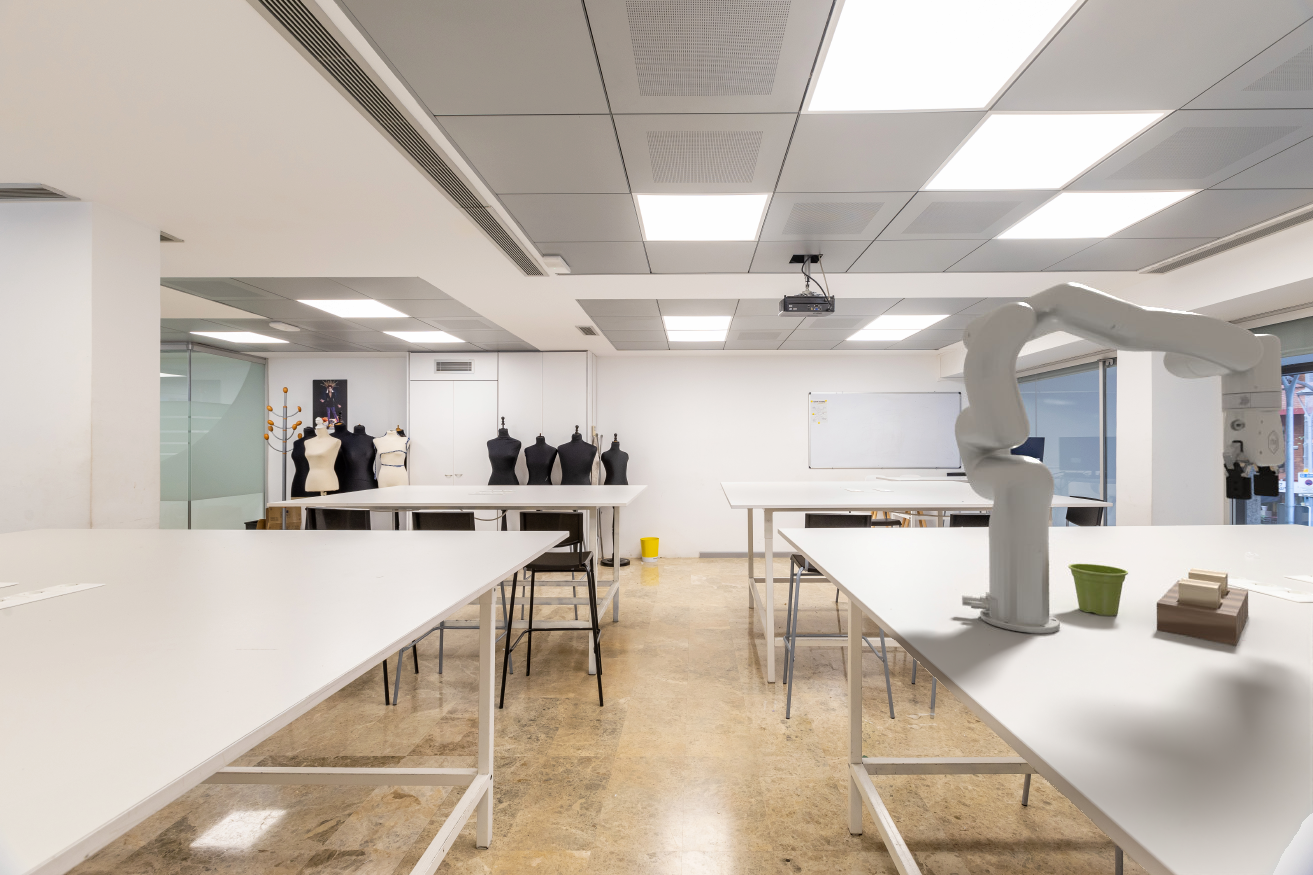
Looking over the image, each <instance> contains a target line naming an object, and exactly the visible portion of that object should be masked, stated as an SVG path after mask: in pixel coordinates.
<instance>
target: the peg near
mask: <svg viewBox="0 0 1313 875" xmlns="http://www.w3.org/2000/svg"><path fill="white" fill-rule="evenodd" d="M1178 590H1179V602H1180V603H1186V604H1192V605H1199V606H1205V607H1211V608H1217V609H1220V608H1221V583H1215V582H1208V581H1201V580H1193V579H1188V578H1184V577H1183V578H1181V579H1180V582H1179V583H1178Z"/></svg>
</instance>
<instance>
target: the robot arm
mask: <svg viewBox="0 0 1313 875" xmlns="http://www.w3.org/2000/svg"><path fill="white" fill-rule="evenodd" d="M1056 332H1063V333H1067V334H1069V335H1072V336H1075V337H1078V338H1080V339H1084V340H1087V341H1089V342H1092V343H1093V344H1097V345H1100V346H1102V347H1105V348H1108V349H1111V350H1113V351H1121V352H1132V353H1133V352H1134V353H1137V352H1138V353H1140V352H1142V353H1144V352H1161V353H1165V354H1164V356H1163V366H1164V368H1165V370H1166V371H1167V372H1168V373H1169V374H1171V375H1173V376H1175V377H1178V378H1181V379H1189V380H1190V379H1192V380H1194V379H1202V378H1209V377H1216V376H1217V377H1218V376H1219V377H1220V383H1221V384H1220V385H1221V386H1220V387H1221V388H1220V389H1221V390H1220V391H1221V392H1220V393H1221V413H1225V417H1224V428H1223V452H1222V458H1223V461H1224V462H1223V467H1224V469H1225V470H1224V476H1225V497H1226V498H1227V499H1229V500H1244V501H1250V500H1252V498H1253V494H1254V496H1256V497H1269V498H1270V497H1271V498H1278V497H1280V476H1279V475H1280V468H1279V466H1280V465H1281V466H1282V464H1284V463H1285V462H1286V450H1285V441H1284V438H1285V437H1284V431H1283V422H1282V418H1281V415H1280V411H1283V398H1282V397H1283V395H1282V392H1283V390H1282V389H1283V388H1282V345H1281V339H1280V338H1279V337H1278V336H1277V335H1274V334H1270V333H1269V334H1268V333H1265V334H1264V333H1263V334H1261V333H1260V334H1255V333H1254V332H1252V331H1251V330H1249V329H1247V328H1244V327H1243V326H1239V325H1237V324H1235V323H1231V322H1229V321H1226V320H1223V319H1221V318H1216V317H1214V316H1211V315H1205V314H1201V313H1194V312H1186V311H1178V310H1170V309H1164V308H1158V307H1156V308H1155V307H1148V306H1142V305H1138V304H1136V303H1133V302H1130V301H1128V300H1124V299H1121V298H1118V297H1116V296H1113V295H1111V294H1107V293H1106V292H1102V291H1100V290H1097V289H1095V288H1091V287H1088V286H1086V285H1083V284H1080V283H1076V282H1063V283H1058V284H1056V285H1054V286H1052V287H1049V288H1046V289H1044V290H1042V291H1040V292H1038V293H1036V294H1033V295H1031V296H1029V297H1026V298H1024V299H1022V300H1020V301H1016V302H1015V301H1014V302H1012V301H1011V302H1007V303H1004V304H1002V305H999V306H997V307H994V308H992V309H990V310H989V311H987V312H984V313H982V314H980V315H978V316H975V317H974V318H973V319H971V320H970V321H969V322H968V323H966V326H965V327H964V329H963V332H962V342H963V345H964V347H965V349H966V350H967V352H966V354H965V358H964V364H963V368H962V369H963V370H962V371H963V382H964V385H965V386H964V387H965V391H966V396H967V400H968V404H969V405H968V406H966V407H965V408H963V409H962V410H961V411H960V412H959V414H958V415H957V417H956V420H955V424H954V436H955V441H956V445H957V448H958V451H959V452H958V453H959V455H960V459H961V463H962V466H963V469H964V473H965V476H966V479H967V482H968V484H969V486H970V487H971V489H972V490H973V491H974V492H975V493H976V494H977V495H978V496H979V497H980V498H983V499H985V500H989V501H993V502H992V503H993V504H992V507H991V512H990V516H989V520H988V564H989V565H988V571H989V572H988V573H989V574H988V576H989V577H988V578H989V584H988V585H989V587H988V588H989V591H986V592H985V595H980V596H978V597H977V596H972V595H962V596H961V604H962V605H961V606H965V607H970V609H974V610H975V609H976V610H980V611H979V613H980V614H979V616H980V619H981V620H983V622H985V623H987V624H990V625H992V626H993V627H994V626H995V627H999V628H1001V629H1005V630H1008V631H1009V630H1010V631H1013V632H1014V631H1016V632H1020V633H1029V634H1050V633H1055V632H1058V631H1059V630H1060V627H1061V623H1060V621H1059V619H1057V618H1056V617H1054V616H1052V615H1050V543H1049V542H1050V541H1049V538H1050V537H1049V536H1050V535H1049V532H1050V531H1049V530H1050V528H1049V527H1050V526H1049V524H1050V512H1051V508H1052V503H1053V502H1052V501H1053V498H1054V493H1055V480H1054V477H1053V476H1054V475H1053V473H1052V472H1051V470H1050V468H1048V466H1047V465H1046V464H1044V462H1042V461H1040V460H1038V459H1036V458H1034V457H1032V456H1028V455H1021V454H1020V455H1017V454H1012V453H1011V450H1012V449H1015V448H1018V447H1020V446H1021V445H1024V444H1025V442H1026V441H1027V440H1028V438H1029V436H1030V431H1031V426H1030V421H1029V416H1028V413H1027V410H1026V408H1025V403H1024V400H1023V397H1022V396H1023V395H1022V393H1021V390H1020V387H1019V383H1018V382H1019V381H1018V378H1017V372H1016V371H1017V368H1016V367H1017V366H1016V365H1017V361H1018V357H1019V355H1020V353H1021V350H1022V349H1023V348H1024V347H1025V345H1026V343H1029V342H1032V341H1034V340H1038V339H1040V338H1042V337H1044V336H1047V335H1050V334H1053V333H1056ZM1252 467H1253V469H1254V470H1255V473H1254V474H1253V476H1249V475H1250V472H1251V470H1252ZM1252 477H1253V481H1252ZM1252 483H1253V484H1252ZM1252 486H1253V488H1252ZM1252 489H1253V490H1252ZM1252 491H1253V492H1252Z"/></svg>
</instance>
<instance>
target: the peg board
mask: <svg viewBox="0 0 1313 875" xmlns="http://www.w3.org/2000/svg"><path fill="white" fill-rule="evenodd" d="M1180 580H1181V579H1180ZM1180 580H1179V579H1177V581H1176V582H1175V583H1174V584H1173V585H1172V586H1171V587H1170V588H1169V589H1168V590H1167V591H1166V592H1165V593H1164V595H1162V597H1161V598H1159V599H1158V601H1157V602H1156V631H1159V632H1165V633H1169V634H1170V633H1171V634H1174V635H1179V636H1180V635H1181V636H1185V637H1190V638H1193V639H1194V638H1196V639H1200V640H1204V641H1205V640H1206V641H1211V642H1216V643H1220V644H1226V645H1232V646H1237V645H1238V643H1239V640H1240V638H1241V635H1242V632H1243V630H1244V628H1245V625H1246V623H1247V620H1248V617H1249V589H1242V588H1237V587H1229V586H1228V595H1227V596H1223V595H1221V608H1220V609H1217V608H1211V607H1205V606H1199V605H1192V604H1186V603H1180V602H1179V590H1178V583H1179V582H1180Z"/></svg>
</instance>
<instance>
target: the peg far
mask: <svg viewBox="0 0 1313 875" xmlns="http://www.w3.org/2000/svg"><path fill="white" fill-rule="evenodd" d="M1187 573H1188V575H1187V576H1188V578H1187V579H1193V580H1201V581H1208V582H1215V583H1221V595H1223V596H1227V595H1228V587H1229V584H1228V582H1229V575H1228V574H1229V573H1228V572H1226V571H1216V570H1209V569H1201V568H1196V567H1195V568H1194V567H1192V568H1191V569H1190V570H1189V571H1188V572H1187Z"/></svg>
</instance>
